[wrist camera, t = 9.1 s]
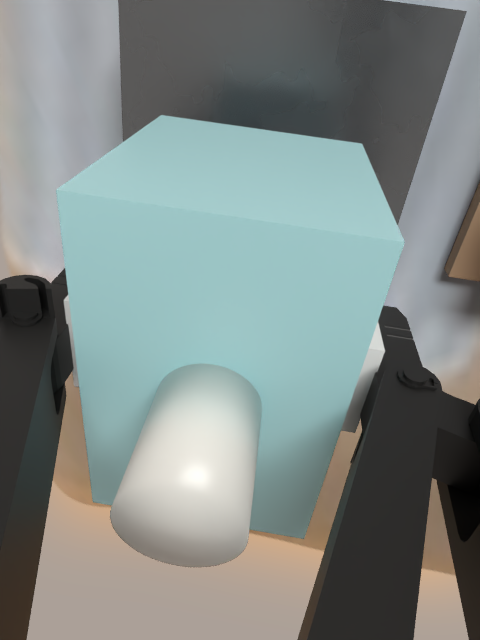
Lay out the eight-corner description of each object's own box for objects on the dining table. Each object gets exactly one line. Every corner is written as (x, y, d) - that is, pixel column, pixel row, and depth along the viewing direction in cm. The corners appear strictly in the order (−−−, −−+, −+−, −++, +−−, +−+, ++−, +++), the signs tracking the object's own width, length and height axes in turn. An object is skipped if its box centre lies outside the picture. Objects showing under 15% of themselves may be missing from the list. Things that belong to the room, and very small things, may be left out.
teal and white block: (351, 117, 17) (451, 350, 5) (304, 320, 22) (303, 665, 10) (189, 95, 17) (-58, 270, 5) (180, 300, 22) (42, 617, 11)
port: (428, 11, 20) (469, 11, 15) (343, 310, 29) (350, 375, 24) (162, -24, 21) (114, -36, 16) (158, 281, 30) (127, 338, 25)
